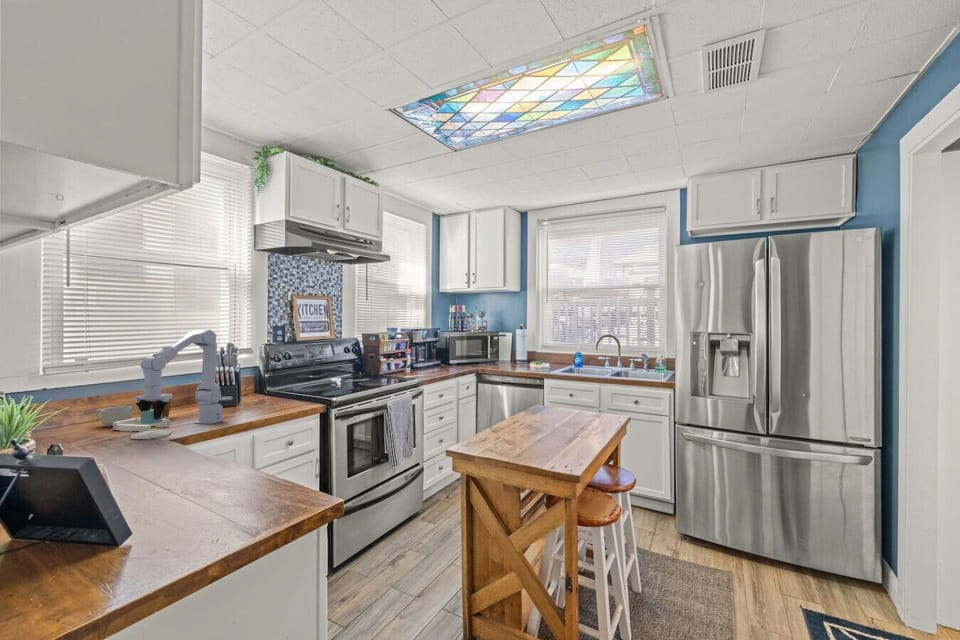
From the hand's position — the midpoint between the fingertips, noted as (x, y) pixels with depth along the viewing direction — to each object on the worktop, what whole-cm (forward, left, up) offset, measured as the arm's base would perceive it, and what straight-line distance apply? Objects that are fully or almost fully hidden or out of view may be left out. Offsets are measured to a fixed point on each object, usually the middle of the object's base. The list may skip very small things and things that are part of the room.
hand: (151, 418), depth 174 cm
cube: (0, 0, -2) cm, 2 cm away
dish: (-1, +1, -7) cm, 7 cm away
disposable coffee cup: (+26, -29, -7) cm, 40 cm away
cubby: (+15, -10, -7) cm, 20 cm away
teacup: (+34, -13, -7) cm, 37 cm away
